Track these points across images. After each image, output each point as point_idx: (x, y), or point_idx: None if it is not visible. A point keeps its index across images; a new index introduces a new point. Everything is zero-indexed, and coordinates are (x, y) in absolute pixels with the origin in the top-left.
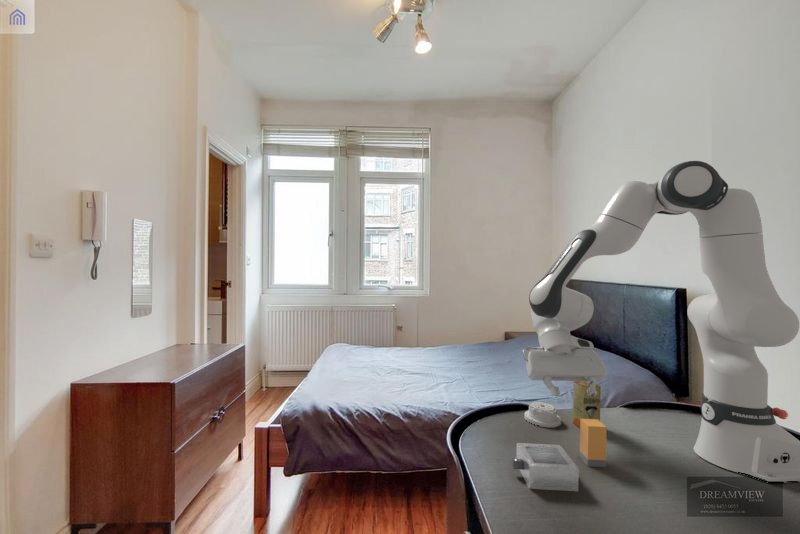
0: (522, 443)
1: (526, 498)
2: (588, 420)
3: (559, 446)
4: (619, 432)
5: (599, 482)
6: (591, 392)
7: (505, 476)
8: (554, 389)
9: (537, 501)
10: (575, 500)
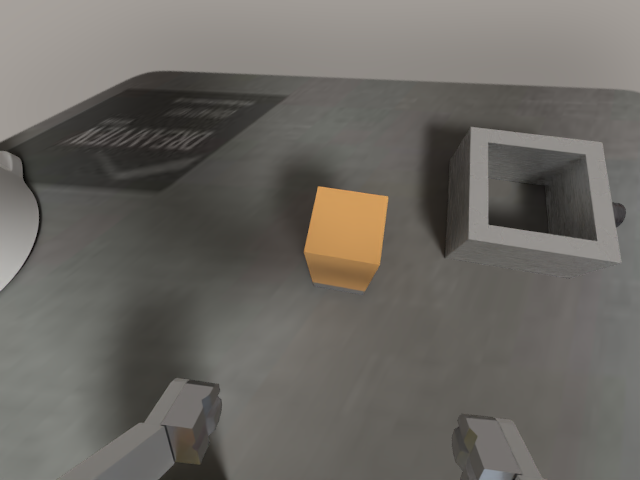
0: (600, 257)
1: None
2: (354, 243)
3: (474, 231)
4: None
5: (382, 185)
6: (211, 386)
7: None
8: (517, 445)
9: None
10: None
